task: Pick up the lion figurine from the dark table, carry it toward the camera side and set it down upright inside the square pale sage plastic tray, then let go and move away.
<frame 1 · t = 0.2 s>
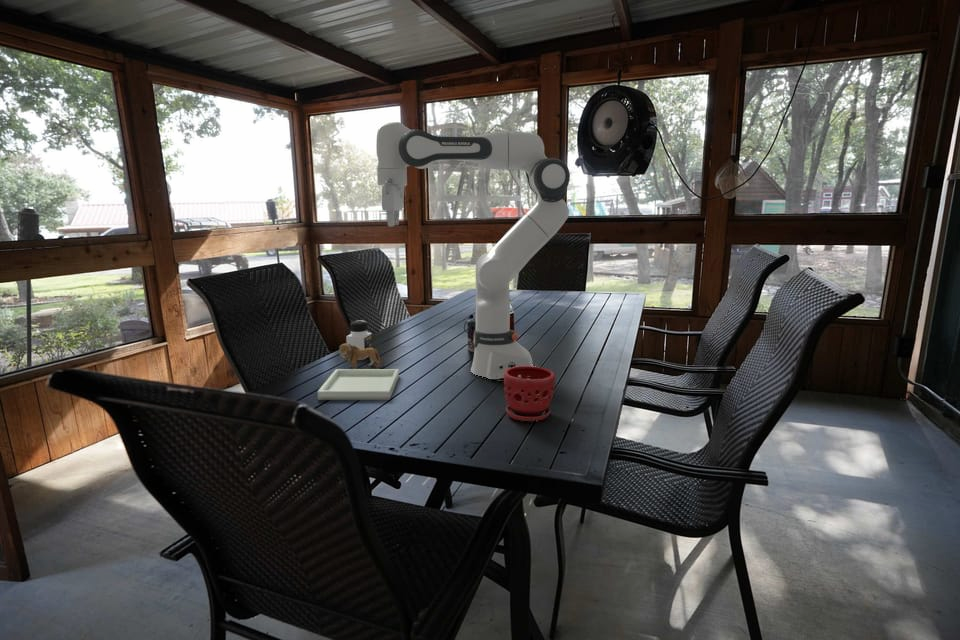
hand: (393, 225, 159), 47 cm above the table, tool pointing down, fingers open, 8 cm apart
tray: (361, 387, 155), on the table
plant pot: (528, 416, 135), on the table
lion figurine: (361, 368, 173), on the table
medicine bottle: (360, 353, 191), on the table
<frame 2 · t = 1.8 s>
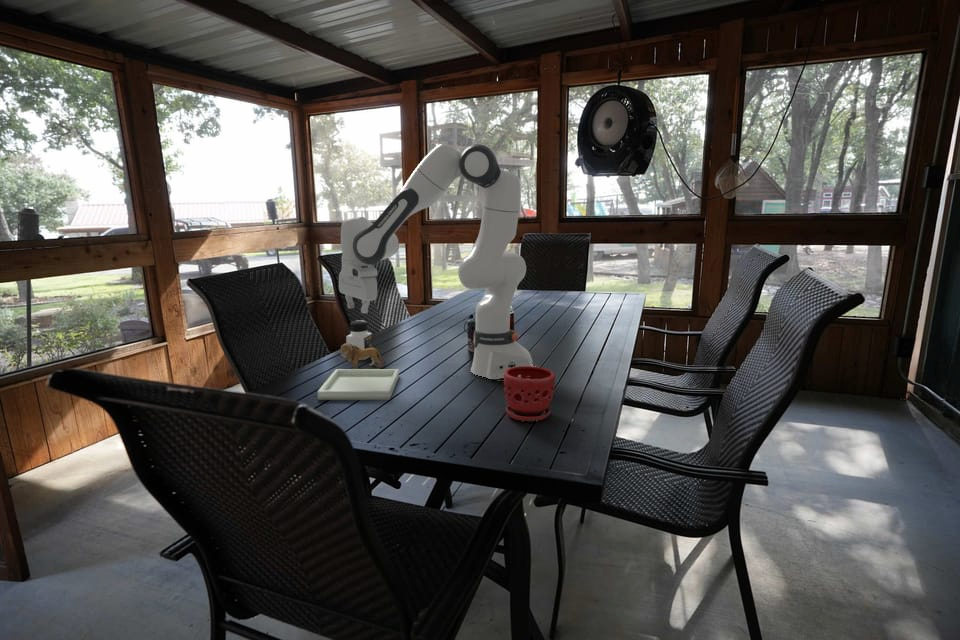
hand: (357, 310, 169), 20 cm above the table, tool pointing down, fingers open, 8 cm apart
nothing on the table moved.
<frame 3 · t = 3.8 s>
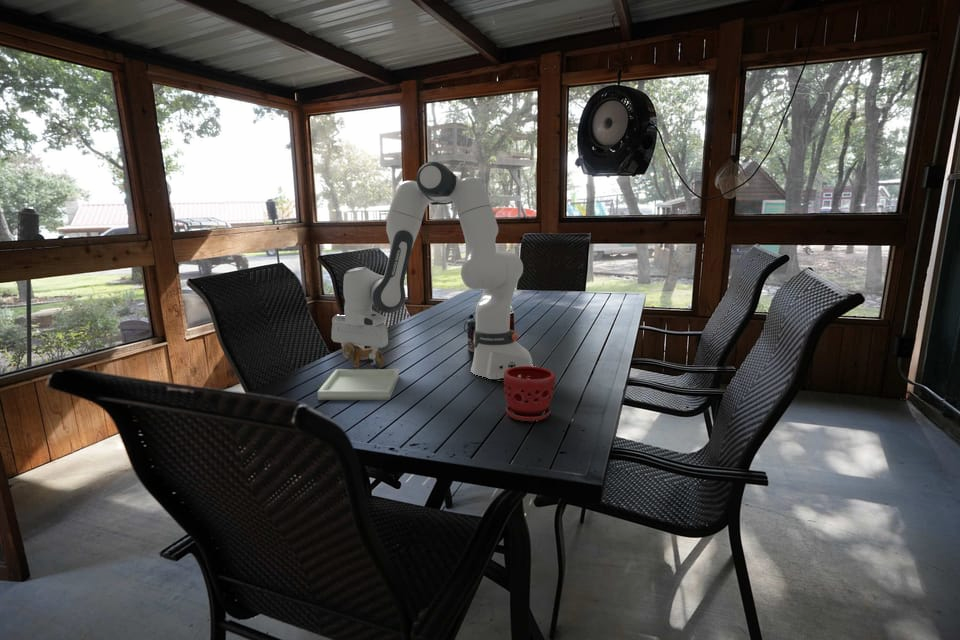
hand: (360, 357, 173), 4 cm above the table, tool pointing down, fingers open, 8 cm apart
nothing on the table moved.
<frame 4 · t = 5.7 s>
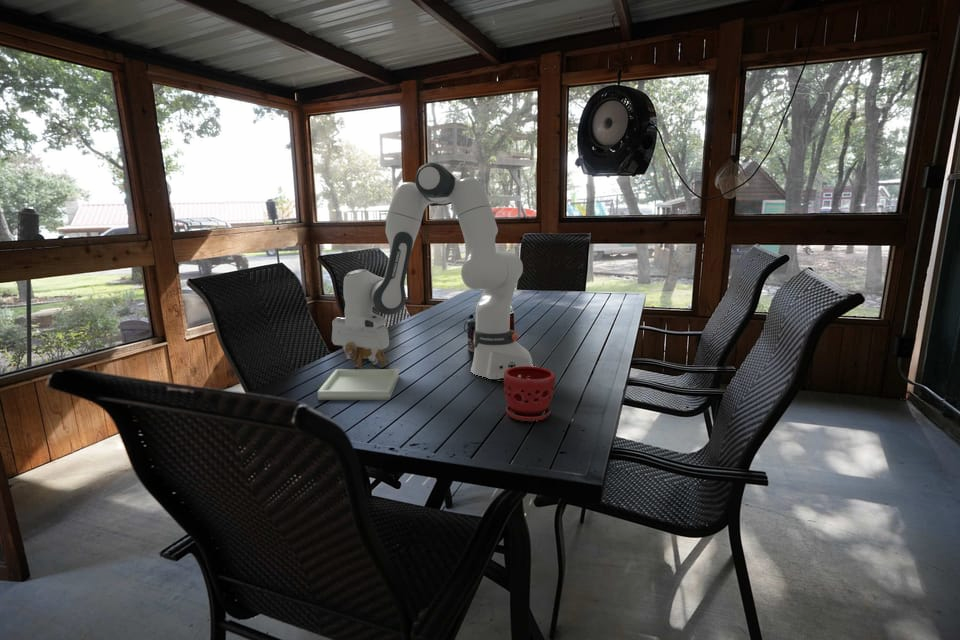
hand: (361, 359, 172), 3 cm above the table, tool pointing down, fingers closed on lion figurine, 7 cm apart
lion figurine: (366, 367, 173), on the table, touching gripper
everything else where it was.
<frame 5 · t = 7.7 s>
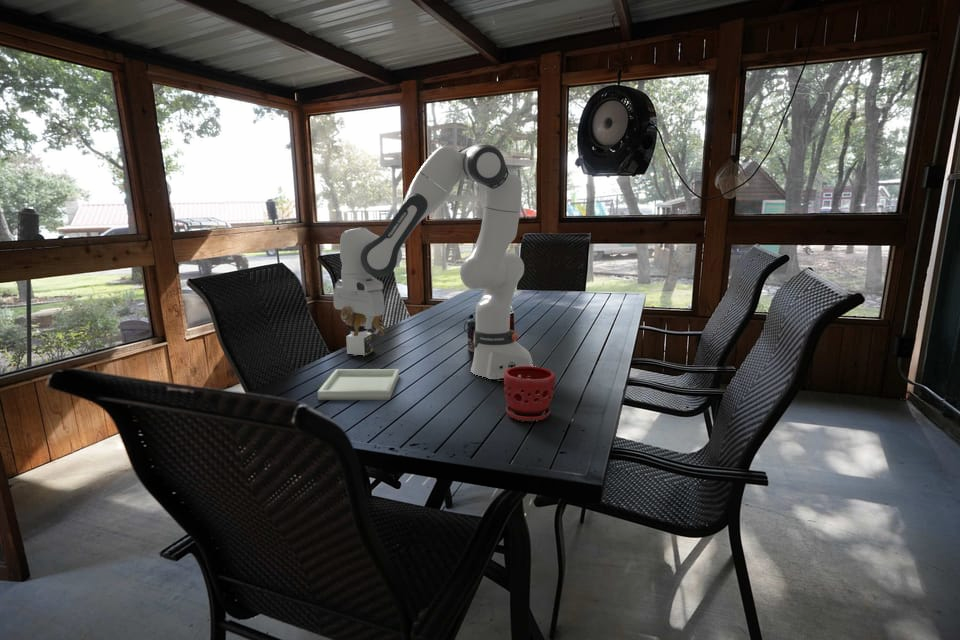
hand: (358, 326, 159), 17 cm above the table, tool pointing down, fingers closed on lion figurine, 7 cm apart
lion figurine: (364, 335, 159), point 14 cm above the table, touching gripper
everything else where it was.
when the fingers open (5 cm above the table, at t = 10.8 s): lion figurine moves 2 cm, resting on tray.
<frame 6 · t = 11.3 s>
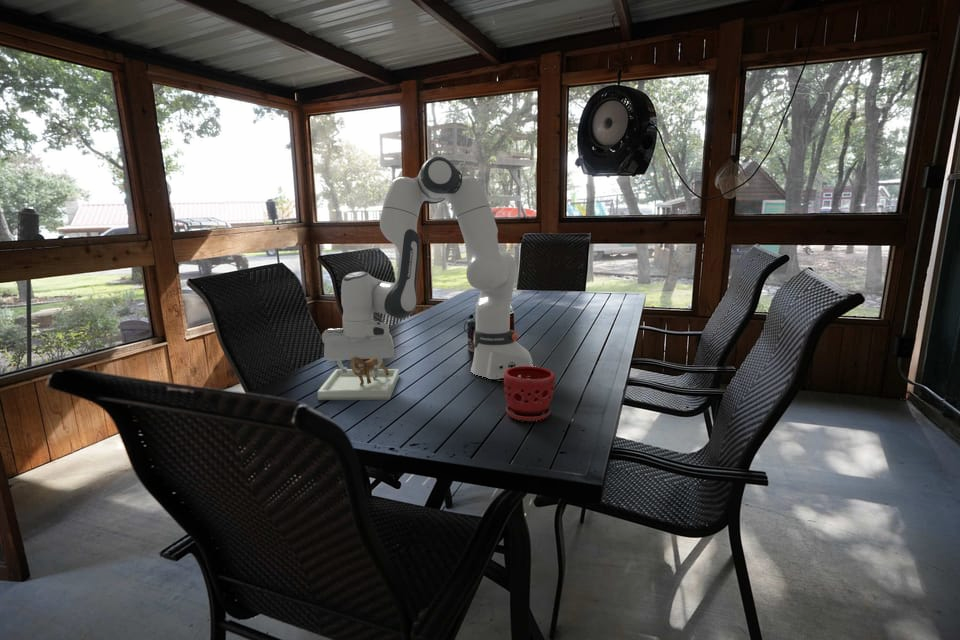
hand: (360, 372, 154), 5 cm above the table, tool pointing down, fingers open, 8 cm apart
lion figurine: (373, 381, 156), point 1 cm above the table, touching gripper, tray
everything else where it was.
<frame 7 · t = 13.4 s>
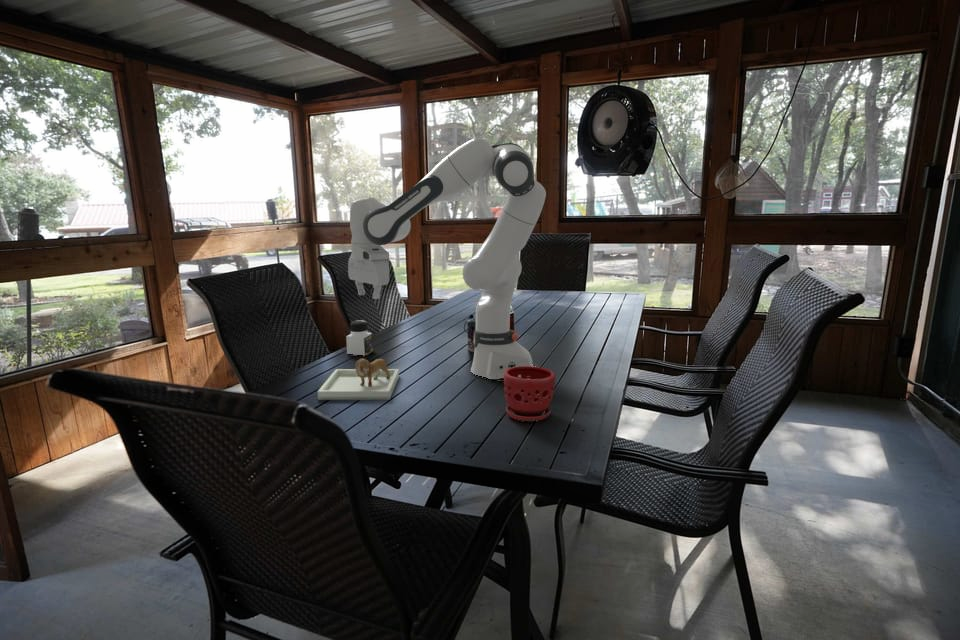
hand: (368, 296, 161), 26 cm above the table, tool pointing down, fingers open, 8 cm apart
lion figurine: (373, 383, 156), point 1 cm above the table, touching tray
everything else where it was.
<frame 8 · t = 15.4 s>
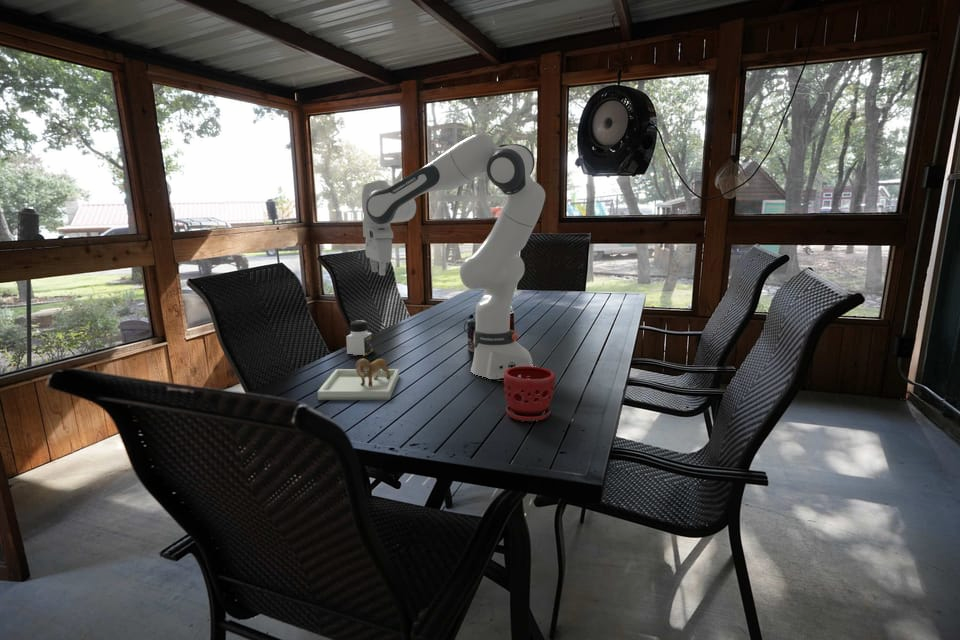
hand: (378, 273, 172), 31 cm above the table, tool pointing down, fingers open, 8 cm apart
nothing on the table moved.
at the end: lion figurine inside the target area on the tray (4.0 cm from its centre), point 0.6 cm above the tray's base; lion figurine tilted 0°; the gripper is holding nothing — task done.
